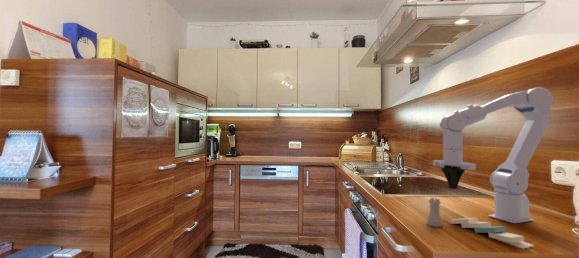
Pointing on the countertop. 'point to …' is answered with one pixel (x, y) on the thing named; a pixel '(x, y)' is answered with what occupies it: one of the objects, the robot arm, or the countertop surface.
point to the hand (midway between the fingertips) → (453, 188)
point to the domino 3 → (490, 229)
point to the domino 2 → (476, 225)
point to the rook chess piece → (434, 213)
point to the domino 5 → (519, 244)
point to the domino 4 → (506, 236)
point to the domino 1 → (464, 220)
